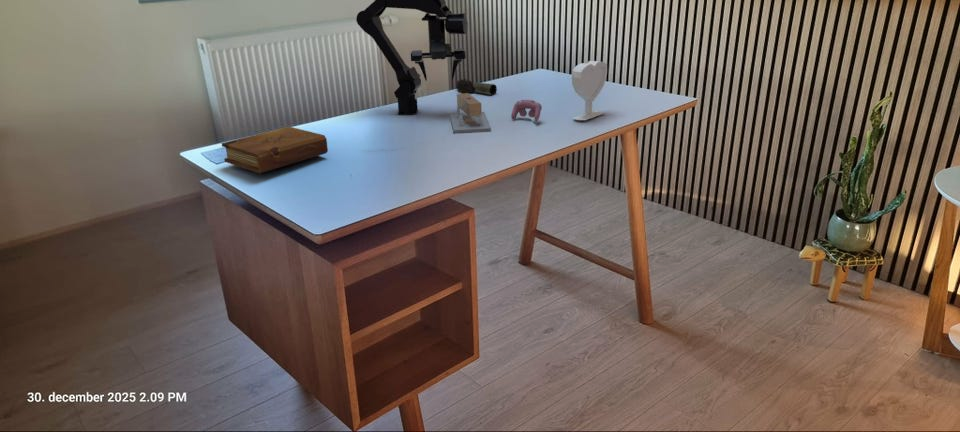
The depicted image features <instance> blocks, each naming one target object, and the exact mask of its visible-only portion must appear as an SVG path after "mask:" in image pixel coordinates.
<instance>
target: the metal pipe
mask: <svg viewBox="0 0 960 432" xmlns="http://www.w3.org/2000/svg"><path fill="white" fill-rule="evenodd" d="M458 89H459V90H458ZM456 90H458V91H459V92H460V94H464V93H469V94H470V95H471V94H474V93H476V94H482V95H489V96H495V95H496V94H497V90H498V89H497V85H496V84H494V83H484V82H473V81H472V80H469V79H468V80H467V78H464V79H463V78H462V79H460V80H458V81H457V82H456Z"/></svg>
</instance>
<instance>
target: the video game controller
mask: <svg viewBox="0 0 960 432" xmlns="http://www.w3.org/2000/svg"><path fill="white" fill-rule="evenodd" d="M526 109H527V110H528V109H529V111H528V112H527V110H526ZM542 109H543V108H542V105H541V103H539V102H538V101H535V100H533V99H521V100H517V102H515V103H514V105H513V108H512V112H511V115H510V116H511V119H512V120H515V119H516V117H518V113H519V115H520V117H526V116H527V115H528V117H529V118H534V121H535V122H537V121H538V120H539V119H540V117H541V113H542Z"/></svg>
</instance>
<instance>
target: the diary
mask: <svg viewBox="0 0 960 432" xmlns="http://www.w3.org/2000/svg"><path fill="white" fill-rule="evenodd" d="M221 147H222V148H225V150H226V151H225V152H226V157H225V158H223V160H224V163H228V164H231V165H233V166H236V167H238V168H242V169H245V170H248V171H250V172H251V171H252V172H255V173H258V174H263V173H265V172H269V171H272V170H275V169H279V168H282V167H286V166H289V165H292V164H295V163H298V162H301V161H305V160H309V159H312V158H315V157H318V156H322V155H325V154H327V153H328V151H329V149H328V140H327V137H326V136H325V135H324V134H320V133H318V132H313V131H309V130H305V129H301V128H297V127H293V126H289V125H288V126H285V127H284V126H283V127H280V128H277V129H273V130H269V131H265V132H261V133H260V132H259V133H257V134H253V135H248V136H245V137H241V138H237V139H234V140H233V139H232V140H230V141H225V142H221Z"/></svg>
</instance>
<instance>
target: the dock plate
mask: <svg viewBox="0 0 960 432" xmlns="http://www.w3.org/2000/svg"><path fill="white" fill-rule="evenodd" d="M460 114H462V121H463V126H459V118H458V117H457V112H455V113H453V112H452V113H450V114H449V117H450V122H451V127H452V131H453V134H466V133H467V134H468V133H484V132H487V133H488V132H491V131H492V129H491V125H490V123H489V120H488V118H487V115H486V113H485V111H482V123H483V125H479V117H476V116H471V117H470V116H469V115H467V114H466V113H465V112H460Z"/></svg>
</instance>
